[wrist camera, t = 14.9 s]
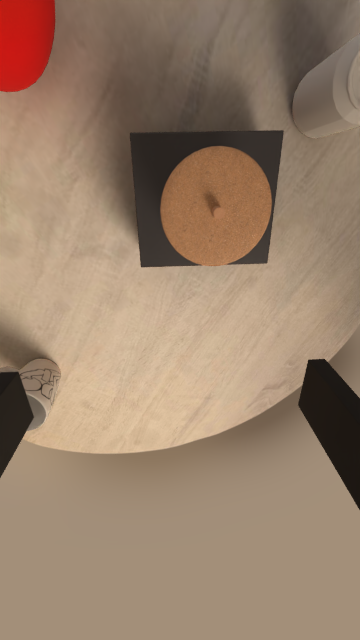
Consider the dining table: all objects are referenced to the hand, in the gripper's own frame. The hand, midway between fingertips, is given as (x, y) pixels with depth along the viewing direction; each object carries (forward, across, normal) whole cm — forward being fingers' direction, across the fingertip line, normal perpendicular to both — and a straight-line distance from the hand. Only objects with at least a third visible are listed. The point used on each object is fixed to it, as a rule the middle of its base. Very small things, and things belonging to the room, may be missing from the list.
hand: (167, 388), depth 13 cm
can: (+33, +20, +17) cm, 42 cm away
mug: (+33, -25, -22) cm, 47 cm away
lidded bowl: (+26, +5, +6) cm, 27 cm away
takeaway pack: (+33, +5, +6) cm, 34 cm away
